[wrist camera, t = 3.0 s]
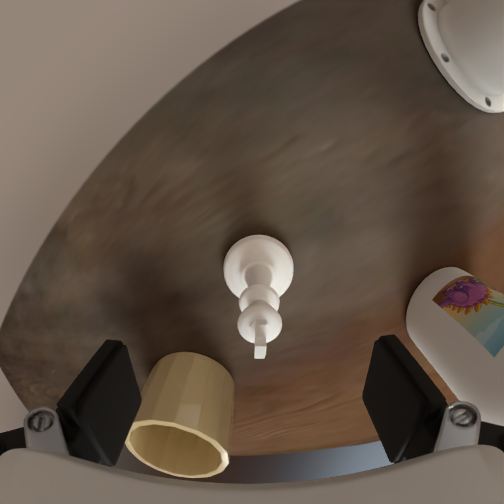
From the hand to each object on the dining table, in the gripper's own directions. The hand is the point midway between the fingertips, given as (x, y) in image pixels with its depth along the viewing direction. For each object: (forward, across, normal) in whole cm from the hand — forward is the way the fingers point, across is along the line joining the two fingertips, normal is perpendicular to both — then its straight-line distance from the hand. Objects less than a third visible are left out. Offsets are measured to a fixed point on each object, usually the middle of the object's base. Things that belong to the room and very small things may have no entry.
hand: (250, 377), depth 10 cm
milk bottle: (+11, -16, +4) cm, 20 cm away
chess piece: (+11, 0, 0) cm, 11 cm away
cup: (+12, +6, +10) cm, 17 cm away
